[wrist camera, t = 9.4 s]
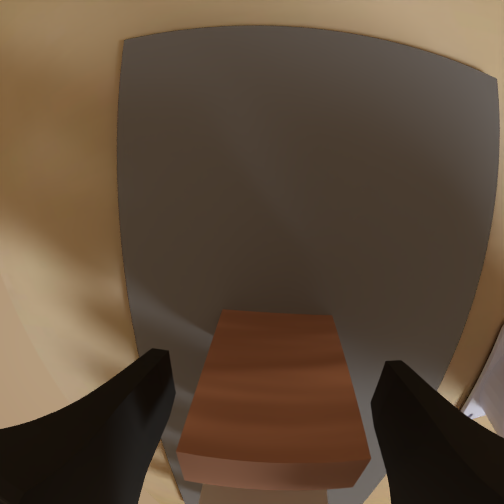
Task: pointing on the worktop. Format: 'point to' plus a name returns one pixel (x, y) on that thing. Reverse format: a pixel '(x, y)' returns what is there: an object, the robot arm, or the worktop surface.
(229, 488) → the ivory domino
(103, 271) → the worktop surface
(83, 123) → the worktop surface
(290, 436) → the terracotta domino
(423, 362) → the charcoal mat
